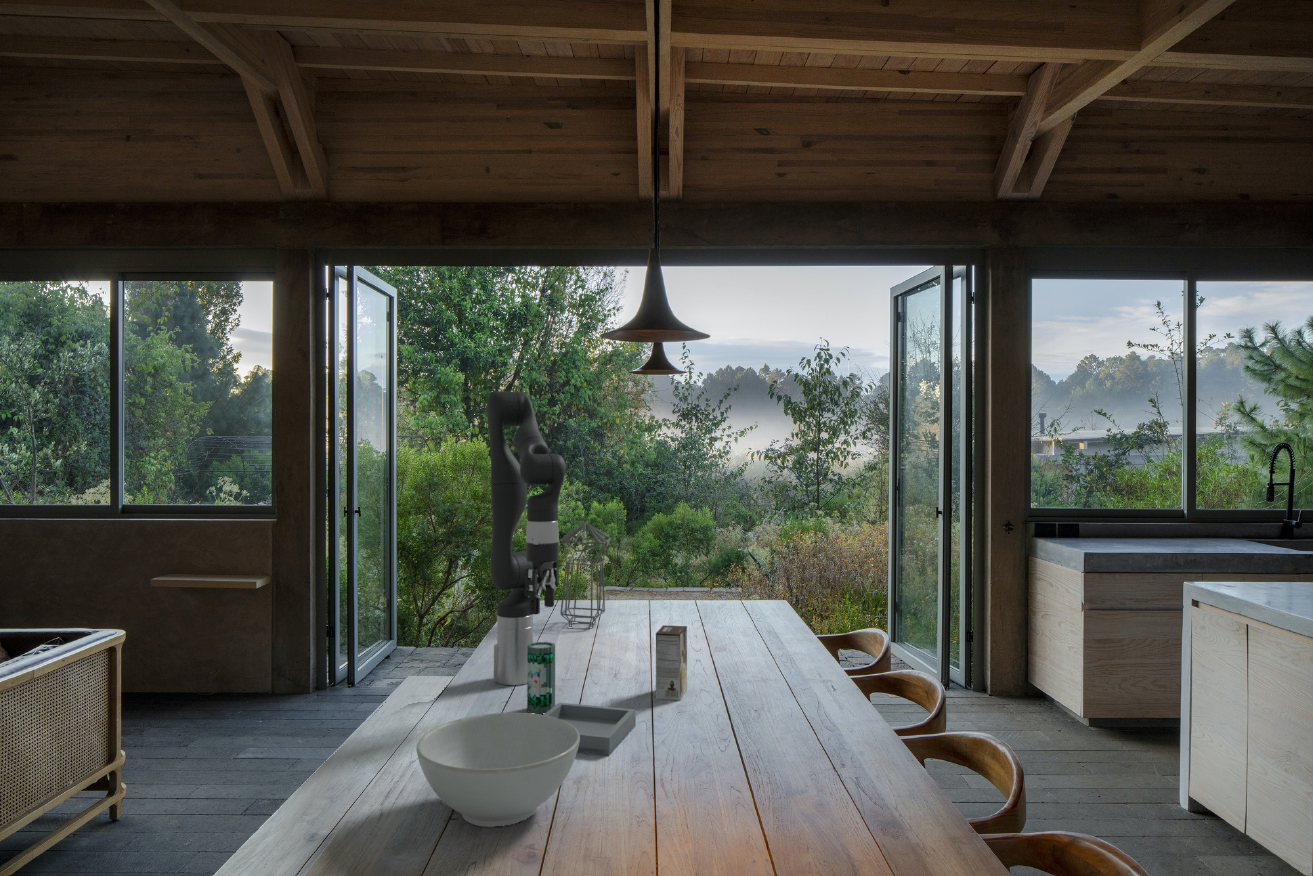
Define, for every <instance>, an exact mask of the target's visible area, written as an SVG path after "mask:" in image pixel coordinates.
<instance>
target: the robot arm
mask: <svg viewBox="0 0 1313 876" xmlns="http://www.w3.org/2000/svg"><path fill="white" fill-rule="evenodd" d="M486 414H487V415H486V417H487V425H488V437H489V444H490V446H489V447H490V493H491V494H490V496H491V512H492V513H491V516H492V517H491V518H492V521H491V523H492V526H491V527H492V531H491V532H492V535H491V549H490V550H491V551H490V577H491V580H492V583H493V586H494V587H495V588H496V589H498V590H500V591H506V590H507V591H508V590H511V591H510V594H509V595H508V596H507V597H506V598H504V599H503V600H501V601H500V602H499V603H498V604H497V607H496V610H497V611H496V615H497V616H496V643H495V644H494V645H493V683H497V684H500V685H505V686H520V685H521V686H522V685H526V684H527V646H528V645H529V644H531V643H534V615H539V614H540V612H541V597H540V596H541V593H542V590H544V599H543V600H544V603H543V604H544V606H545V607H546V608H553V607H554V606H555V591H556V589H557V588H556V587H559V585H560V579H559V558H560V554H559V553H560V548H559V547H560V546H559V545H560V541H559V540H560V539H559V538H560V533H559V532H560V531H559V521H558V520H559V519H558V518H559V509H558V508H559V499H560V494H561V490H562V487H563V483H564V480H565V476H566V472H567V466H566V465H567V464H566V462H565V459H564V458H563V457H562V456H561V455H560V454H557V453H550V451H549V447H548V445H547V443H546V441H545V439H544V438H543V436H542V434H541V432H540V430H539V425H538V422H537V417H536V415H535V410H534V407H533V404H532V400H531V398H530V397H529V395H528V393H526V392H523V391H503V390H501V391H491V392H490V393H489V395H488V396H487V402H486ZM504 427H505V428H507V427H518V428H517V430H516V431H515V433H514V437H513V444H514V448H515V450H516V452H517V454H518V456H519V460H520V462H519V461H518V460H517V458H516V457H515V455H514V454H513V452H512V450H510V448H509V445H508V444H507V441H506V437H505V434H504V429H503V428H504ZM528 485H547V487H546V489H545V490H544V491H543V492H541V493H537V494H534V495H531V496H529V497H528ZM526 506H527V514H526V515H527V517H526V518H527V519H526V521H527V522H526V529H525V530H526V531H525V538H526V539H525V541H526V542H525V551H515V552H513V540H514V539H513V538H514V534H515V530H516V528H517V526H518V524H519V521H520V520H521V517H522V516H523V514H524V511H525V509H526Z"/></svg>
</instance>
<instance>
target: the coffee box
mask: <svg viewBox="0 0 1313 876" xmlns="http://www.w3.org/2000/svg"><path fill="white" fill-rule="evenodd" d="M687 684H688V626H687V625H662V626H661V627H660V628H659V629H658V630H657V631H656V633H655V699H656V698H657V700H671V701H681V700H682V698H683V697H684V695H685V693H686V692H687V691H688V685H687Z"/></svg>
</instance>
